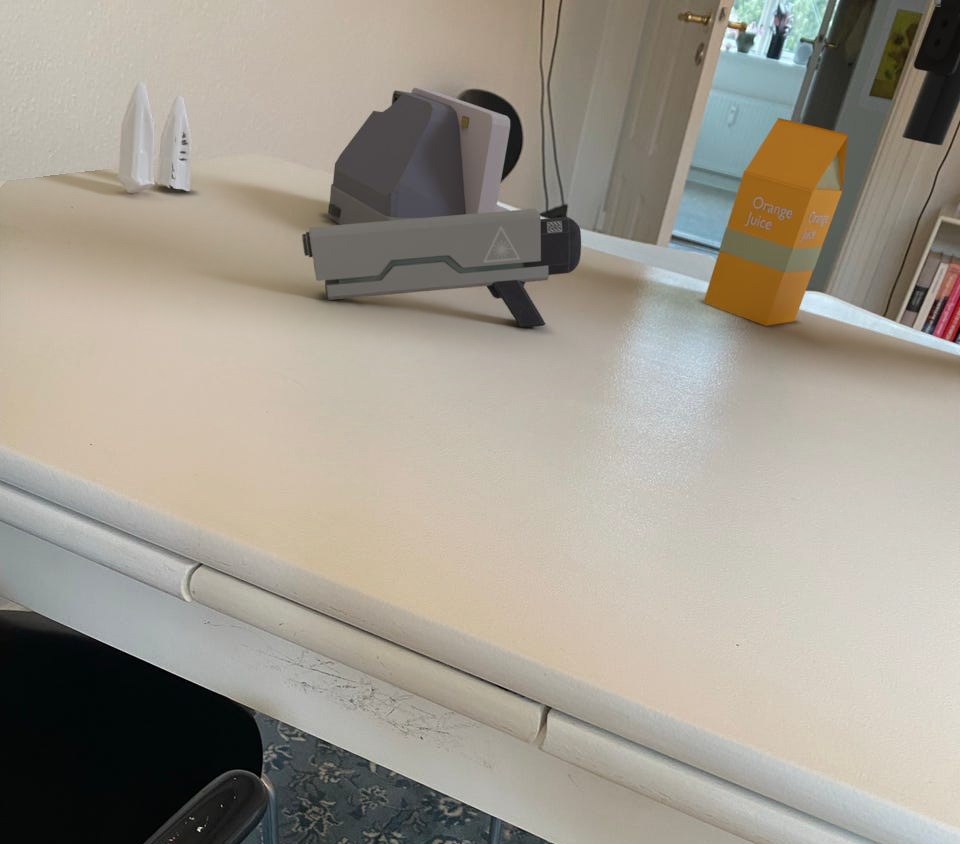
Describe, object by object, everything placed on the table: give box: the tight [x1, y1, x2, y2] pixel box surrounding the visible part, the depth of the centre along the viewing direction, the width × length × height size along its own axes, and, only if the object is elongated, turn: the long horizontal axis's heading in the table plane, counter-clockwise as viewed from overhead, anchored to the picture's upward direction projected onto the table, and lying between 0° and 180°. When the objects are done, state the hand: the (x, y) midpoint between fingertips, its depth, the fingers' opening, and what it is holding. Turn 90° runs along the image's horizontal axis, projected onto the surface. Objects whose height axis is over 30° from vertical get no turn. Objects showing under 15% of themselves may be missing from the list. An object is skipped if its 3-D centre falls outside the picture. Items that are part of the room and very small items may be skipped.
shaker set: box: [116, 81, 193, 194], centre depth 103 cm, size 12×4×11 cm, turn 158°
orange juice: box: [702, 117, 849, 327], centre depth 104 cm, size 8×9×20 cm
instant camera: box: [327, 87, 511, 225], centre depth 107 cm, size 21×21×15 cm
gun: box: [301, 208, 582, 328], centre depth 83 cm, size 2×25×10 cm, turn 98°
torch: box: [902, 61, 960, 146], centre depth 71 cm, size 4×4×10 cm
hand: (948, 72), depth 71 cm, fingers closed on torch, 4 cm apart
